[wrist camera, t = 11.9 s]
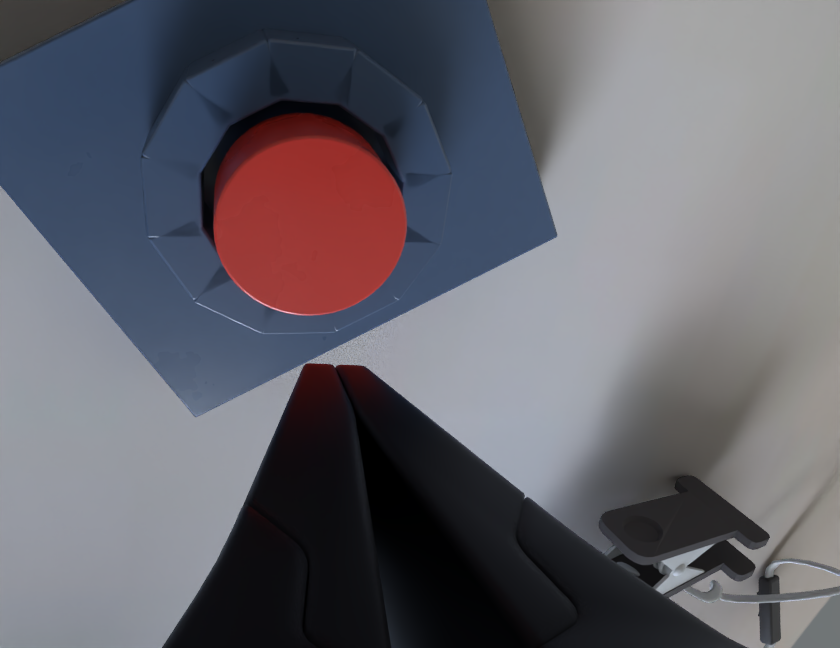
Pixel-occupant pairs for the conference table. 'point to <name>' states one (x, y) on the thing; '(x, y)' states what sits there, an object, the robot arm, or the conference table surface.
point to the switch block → (223, 124)
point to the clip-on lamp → (699, 550)
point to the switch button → (307, 215)
